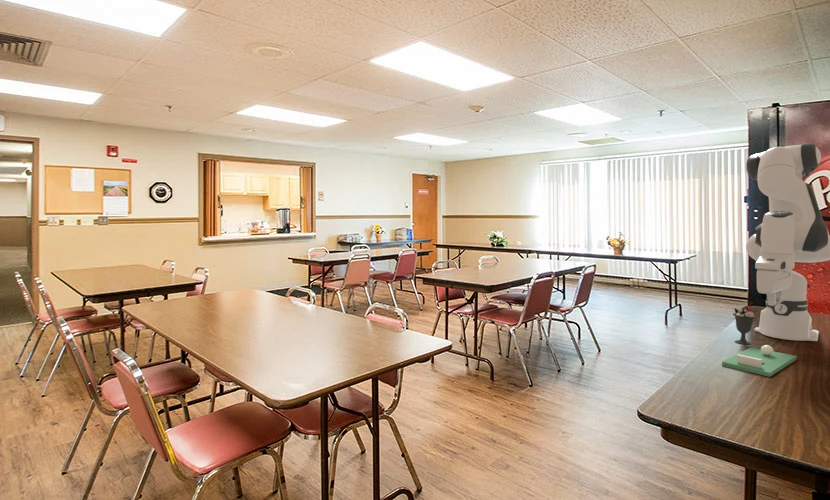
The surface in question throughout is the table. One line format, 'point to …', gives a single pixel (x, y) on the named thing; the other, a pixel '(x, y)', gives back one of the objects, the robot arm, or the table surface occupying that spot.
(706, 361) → the table surface
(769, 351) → the ball
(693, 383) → the table surface
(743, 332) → the sundae
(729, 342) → the table surface
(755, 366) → the green
